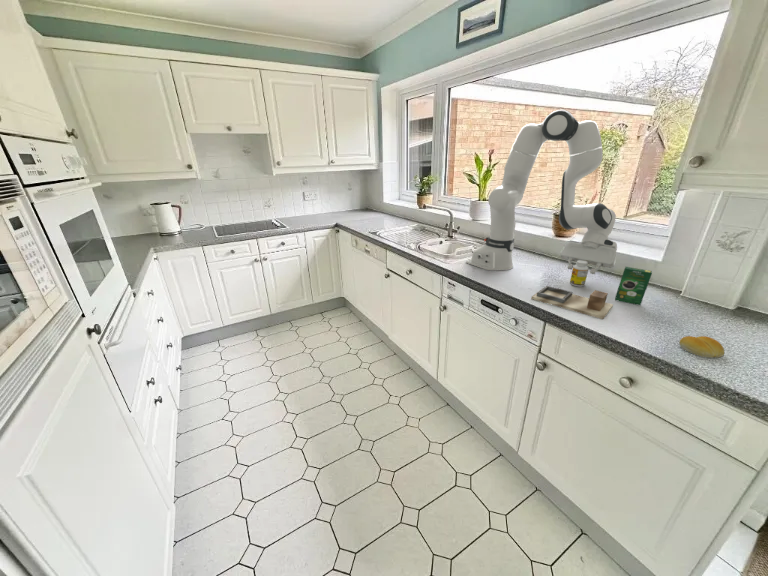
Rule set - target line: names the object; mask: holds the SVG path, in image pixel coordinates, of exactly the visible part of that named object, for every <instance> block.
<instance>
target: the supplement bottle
mask: <svg viewBox="0 0 768 576" xmlns="http://www.w3.org/2000/svg"><path fill="white" fill-rule="evenodd" d="M588 265H589V264H588V262H586V261H582V260H578V261H577V262H576V263H575V264H573V268H572V270H571V276H570V279H569V284H570V285H572V286H574V287H583V286H585V285H586V281H587V277H588V273H589V266H588Z"/></svg>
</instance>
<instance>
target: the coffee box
mask: <svg viewBox="0 0 768 576" xmlns="http://www.w3.org/2000/svg"><path fill="white" fill-rule="evenodd" d="M652 274H653V272H652V270H649V269H648V270H647V269H641V268H638V267H630V266H625V267H624V270H623V273H622V275H621V277H620V278H621V279H620V281H619V285H618V288H617V291H616V294H615V298H614V301H617V302H620V303H627V304H631V305H636V306H641V305H642V302H643V300H644V296H645V293H646V291H647V288H648V285H649V282H650V279H651V277H652Z"/></svg>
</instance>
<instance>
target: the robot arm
mask: <svg viewBox="0 0 768 576" xmlns="http://www.w3.org/2000/svg"><path fill="white" fill-rule="evenodd" d="M547 141H552V142H553V141H554V142H558V141H560V142H562V141H565V142H566V144H567V146H568V147H567V149H568V155H569V162H568V166H567V168H566V169H565V170H564V171H563V174H562V177H561V178H562V179H561V180H562V181H561V190H560V192H561V193H560V195H561V196H560V197H561V198H560V210H559V215H558V223H559V225H561V226H560V227H562V228H563V229H565V230H568V231H569V230H575V229H587V230H586V232H585V233H584V235H583V237H582V239H581V241H580V240H572V239H571V240H567V241H565V243H564V245H563V248H562V249H561V250H560V253H559V256H560V259H562V260H564V261H565V260H566V261H568V265H567V269H568V270H570V271H572V270H573V266H574V264H572V263H573V262H577V261H578V260H582V261H586V262H588V264H587V265H592V266H596V267H594V268H593V267H592V268H591V269H590V272H589V273H590V274H592V275H595V274H596V272H598V271H599V270H600V269H602V268H607V269H613V268H614V267H615V264H616V262H617V261H616V260H617V251H618V244H617V242H615V241H613V240H611V239H609V236H610V234H611V233H612V231H613V230H614V229H613V228H614V226H615V222H616V217H617V216H616V213H615V211H614V210H612V209H610V208H608V207H607V206H606V205H605V204H603V203H600V202H599V203H590V204H583V205H582V204H581V205H577V204H575V201H576V200H575V198H576V197H575V196H576V186H577V184H578V182H579V181H580V180H582V179H583V178H585V177H587V176H588V175H590V174H592V173H593V172H595V171H596V170H597V169H598V168H599V167H600V165H601V164H602V161H603V156H604V153H603V144H602V137H601V133H600V129H599V127H598V124H597V122H596V121H594V120H583V121H582V120H581V121H578V120H577V119H576V118H575V117H574V115H573V114H572V112H570V111H569V110H566V109H557V110H554V111H551V112H550V113H549V114H547V116H545V118H544V120H543V121H542V122H541V123H526V125H524V126H522V127H521V129H520V131H519V132H518V134H517V136H516V138H515V140H514V143H513V144H512V147H511V149H510V152H509V155H508V157H507V160H506V163H505V166H504V169H503V171H504V172H503V176H502V182H501V184H500V185H499V186H497V187H495V188H494V189H492V191H491V192H490V194H489V196H488V199H487V200H488V205H489V211H490V227H489V236H487V237H486V238H484V240H483V242H485V243H484V244H483V245H481V246H480V247H477V248H476V249H474V251H473V252H472V254H471V255H472V256H471V257H469V258H468V259H467V260H466V263H467V264H468V265H472V266H474V267H478V268H480V269H483V270H485V271H508V270H511V269H513V268H514V265H513V250H514V247H515V246H514V245H515V230H516V224H517V222H516V215H515V212H516V211H515V209H516V207H517V206H518V205H519V204H520V203H521V201H522V200H523V197H524V194H525V191H526V188H527V184H528V181H529V177H530V174H531V172H532V169H533V168H534V165H535V163H536V160H537V158H538V155H539V153H540V150H541V149H542V146H543V145H544V143H546V142H547Z"/></svg>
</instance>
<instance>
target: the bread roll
mask: <svg viewBox="0 0 768 576" xmlns="http://www.w3.org/2000/svg"><path fill="white" fill-rule="evenodd" d="M679 346H680V348H681V349H682V350H683V351H685V350H686V351H685V352H687V351H688V352H687V353H689V352H690V353H689V354H691V353H692V355H694V354H695V356H697V355H698V356H697V357H700V356H701V358H705V357H706V358H707V359H711V358H712V359H713V358H714V359H719V358H722V357H724V356H725V349H724V347H723V345H722V344H721V343H720V342H719V341H718V340H716V339H715V338H712V337H710V336H704V335H701V336H691V335H688V336H684V337H681V338H680V340H679Z"/></svg>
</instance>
